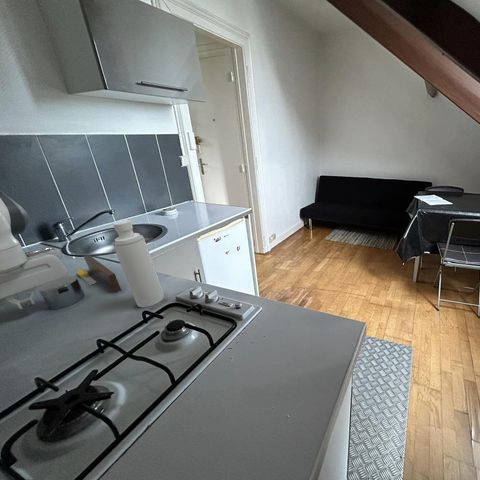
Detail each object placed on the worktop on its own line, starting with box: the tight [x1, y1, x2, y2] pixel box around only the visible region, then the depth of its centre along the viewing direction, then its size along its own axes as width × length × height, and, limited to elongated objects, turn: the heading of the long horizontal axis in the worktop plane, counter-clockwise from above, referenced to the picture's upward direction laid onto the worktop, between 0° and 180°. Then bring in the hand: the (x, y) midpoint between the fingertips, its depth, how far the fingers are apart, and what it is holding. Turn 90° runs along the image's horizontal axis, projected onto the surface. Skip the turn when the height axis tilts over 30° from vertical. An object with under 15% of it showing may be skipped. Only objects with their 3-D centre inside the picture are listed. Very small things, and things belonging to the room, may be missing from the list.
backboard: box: [83, 254, 122, 293], centre depth 85 cm, size 2×26×6 cm, turn 53°
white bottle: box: [112, 219, 165, 308], centre depth 69 cm, size 7×7×25 cm
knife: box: [76, 268, 98, 286], centre depth 88 cm, size 2×14×1 cm, turn 54°
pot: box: [38, 275, 86, 311], centre depth 75 cm, size 8×10×6 cm
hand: (27, 306), depth 70 cm, fingers closed
